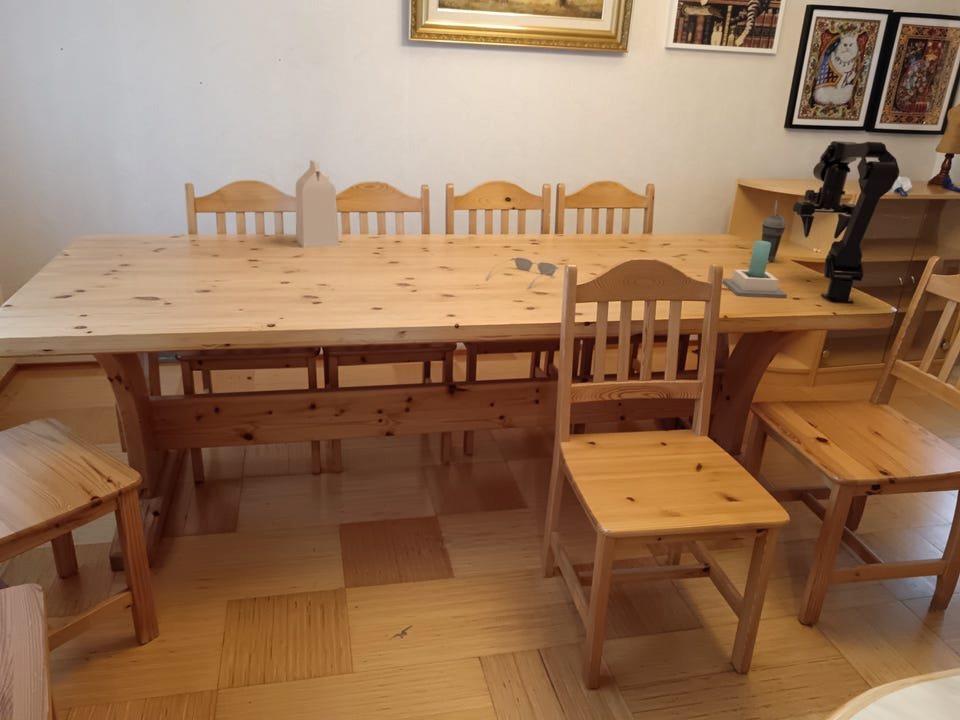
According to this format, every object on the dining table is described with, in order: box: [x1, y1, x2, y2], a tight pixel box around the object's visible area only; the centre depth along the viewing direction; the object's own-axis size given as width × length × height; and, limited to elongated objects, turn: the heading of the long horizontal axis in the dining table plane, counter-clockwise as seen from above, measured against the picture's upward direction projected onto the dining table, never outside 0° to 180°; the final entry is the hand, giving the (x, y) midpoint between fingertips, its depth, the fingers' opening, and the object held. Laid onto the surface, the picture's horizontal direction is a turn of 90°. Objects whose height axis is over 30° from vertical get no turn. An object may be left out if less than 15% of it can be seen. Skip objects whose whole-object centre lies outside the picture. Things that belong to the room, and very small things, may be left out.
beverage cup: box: [761, 200, 786, 263], centre depth 237 cm, size 7×7×20 cm
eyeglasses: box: [485, 257, 559, 291], centre depth 206 cm, size 15×18×4 cm
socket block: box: [722, 269, 788, 299], centre depth 206 cm, size 14×14×4 cm
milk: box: [295, 159, 340, 249], centre depth 229 cm, size 12×12×26 cm
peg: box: [748, 240, 771, 278], centre depth 204 cm, size 4×4×13 cm
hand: (820, 237), depth 216 cm, fingers open, 9 cm apart
